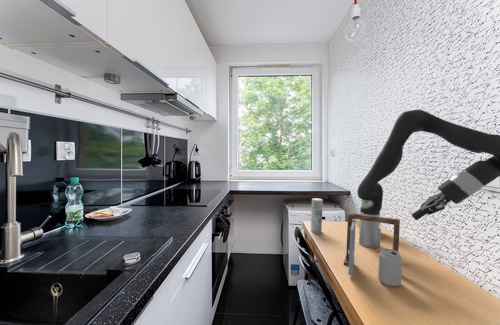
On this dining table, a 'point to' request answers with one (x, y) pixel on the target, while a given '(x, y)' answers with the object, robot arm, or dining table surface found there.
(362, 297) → the dining table surface
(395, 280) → the can
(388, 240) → the dining table surface
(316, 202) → the spray can
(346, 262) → the door frame
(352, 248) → the door
